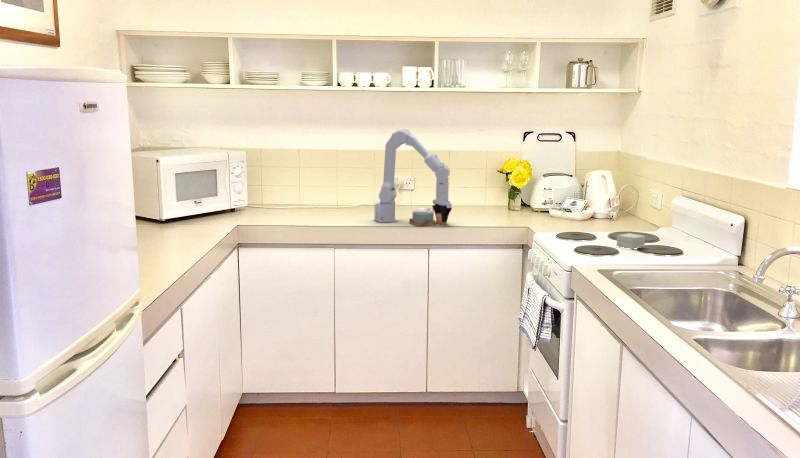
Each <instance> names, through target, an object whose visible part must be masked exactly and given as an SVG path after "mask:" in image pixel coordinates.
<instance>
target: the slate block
mask: <svg viewBox="0 0 800 458" xmlns="http://www.w3.org/2000/svg"><path fill="white" fill-rule="evenodd" d="M434 214H435V213H434ZM434 214H433V213H430V212H413V211H412V215H413V219H415V220H418V221H429V220H434Z"/></svg>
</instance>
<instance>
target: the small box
mask: <svg viewBox="0 0 800 458" xmlns="http://www.w3.org/2000/svg"><path fill="white" fill-rule="evenodd" d="M645 242H646V236H645V235H641V234H637V233H631V232H628V233H623V234H617V236H616V247H617V246H619V247H618V248H620V247H624V248H630V249H634V248H637V247H639V246H643V245H644V246H645V244H646V243H645ZM624 248H623V249H624Z"/></svg>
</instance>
